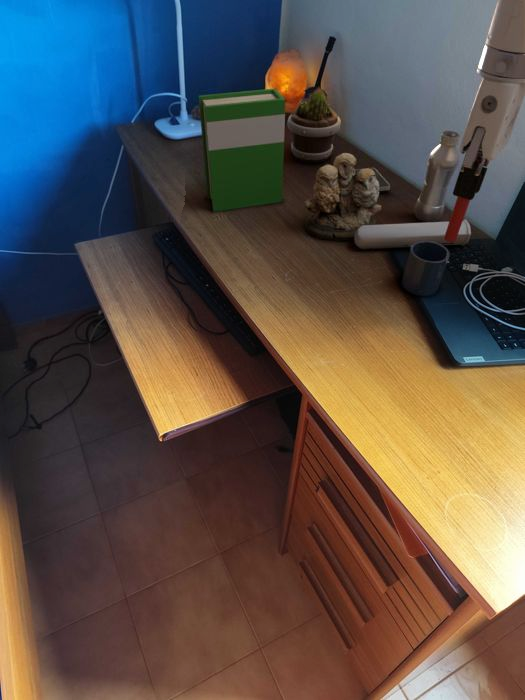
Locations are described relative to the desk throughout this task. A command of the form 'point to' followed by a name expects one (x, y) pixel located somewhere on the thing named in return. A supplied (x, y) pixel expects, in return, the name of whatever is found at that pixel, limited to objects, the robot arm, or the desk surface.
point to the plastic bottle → (438, 178)
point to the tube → (407, 234)
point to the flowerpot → (313, 128)
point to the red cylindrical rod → (456, 218)
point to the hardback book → (243, 147)
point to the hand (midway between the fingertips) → (465, 192)
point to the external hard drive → (383, 183)
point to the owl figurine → (342, 200)
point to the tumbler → (425, 267)
